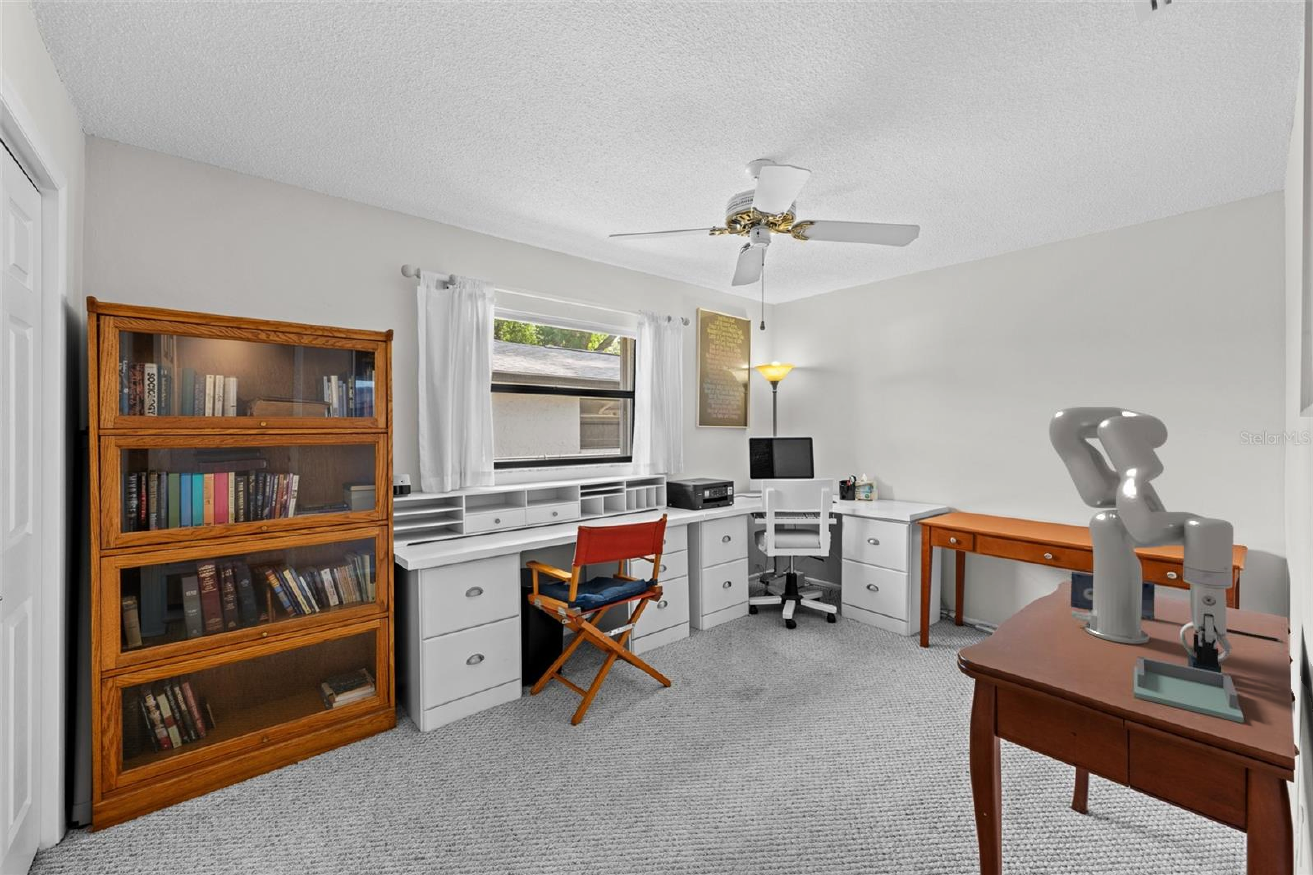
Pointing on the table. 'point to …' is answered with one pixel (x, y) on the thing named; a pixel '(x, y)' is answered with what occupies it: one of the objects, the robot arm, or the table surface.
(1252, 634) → the black pen
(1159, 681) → the shallow grey tray
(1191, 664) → the watch
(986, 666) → the table surface
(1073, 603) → the vhs cassette tape
